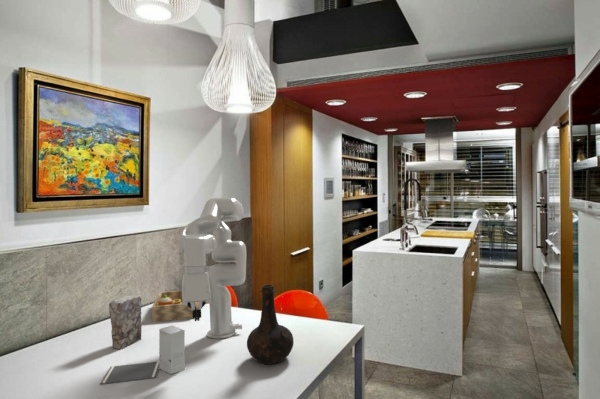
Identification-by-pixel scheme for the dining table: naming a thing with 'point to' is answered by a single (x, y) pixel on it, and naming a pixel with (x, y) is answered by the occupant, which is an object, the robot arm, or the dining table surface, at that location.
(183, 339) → the skincare box
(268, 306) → the glass bottle
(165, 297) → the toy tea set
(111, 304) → the stone block
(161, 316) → the crate
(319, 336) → the dining table surface
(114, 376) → the mat
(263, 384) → the dining table surface
